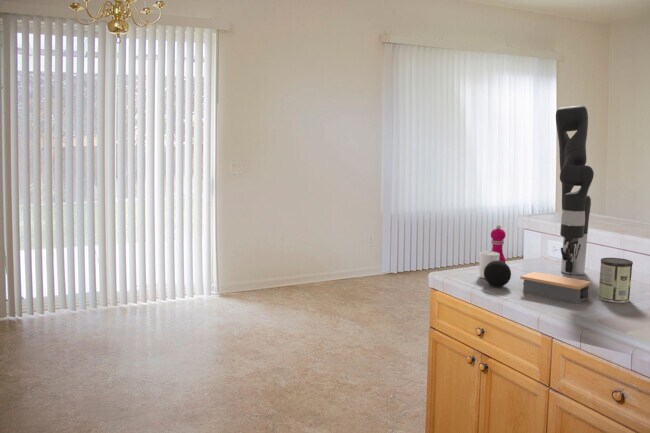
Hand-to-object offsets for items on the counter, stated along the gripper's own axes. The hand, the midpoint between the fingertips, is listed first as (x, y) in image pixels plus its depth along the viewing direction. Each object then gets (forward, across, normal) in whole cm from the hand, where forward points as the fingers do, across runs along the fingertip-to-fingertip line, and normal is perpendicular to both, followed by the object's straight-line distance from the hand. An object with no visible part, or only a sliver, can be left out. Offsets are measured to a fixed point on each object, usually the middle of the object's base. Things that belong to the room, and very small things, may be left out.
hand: (569, 272), depth 208 cm
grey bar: (+10, -5, -7) cm, 13 cm away
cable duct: (+10, -5, -6) cm, 13 cm away
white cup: (+11, -12, -36) cm, 39 cm away
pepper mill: (+11, -23, -38) cm, 46 cm away
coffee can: (+11, -15, +11) cm, 22 cm away
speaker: (+11, -1, -27) cm, 29 cm away
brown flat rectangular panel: (+5, -4, -6) cm, 9 cm away
